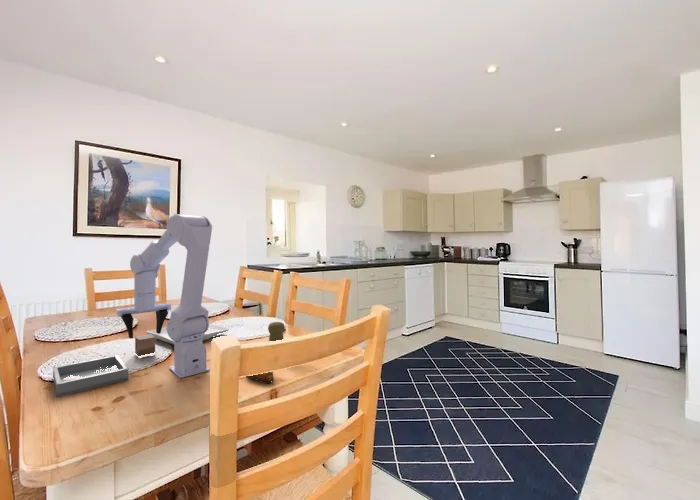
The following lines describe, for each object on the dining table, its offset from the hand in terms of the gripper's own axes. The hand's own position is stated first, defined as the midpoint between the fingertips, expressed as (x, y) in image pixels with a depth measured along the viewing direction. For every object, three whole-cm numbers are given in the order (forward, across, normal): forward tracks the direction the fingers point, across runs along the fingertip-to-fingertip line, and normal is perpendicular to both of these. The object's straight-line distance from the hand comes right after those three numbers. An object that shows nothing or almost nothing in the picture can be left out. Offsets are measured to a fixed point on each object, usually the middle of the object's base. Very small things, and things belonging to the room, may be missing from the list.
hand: (145, 335), depth 104 cm
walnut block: (+6, 0, 0) cm, 7 cm away
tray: (+6, +15, +11) cm, 20 cm away
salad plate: (+7, -17, -11) cm, 21 cm away
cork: (+6, -30, +29) cm, 42 cm away
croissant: (+7, -18, +39) cm, 44 cm away
